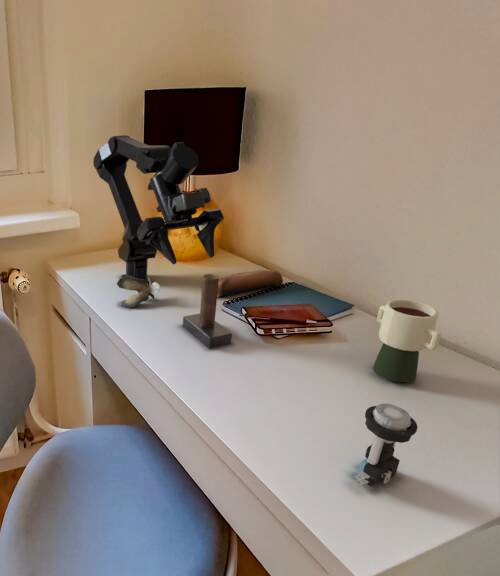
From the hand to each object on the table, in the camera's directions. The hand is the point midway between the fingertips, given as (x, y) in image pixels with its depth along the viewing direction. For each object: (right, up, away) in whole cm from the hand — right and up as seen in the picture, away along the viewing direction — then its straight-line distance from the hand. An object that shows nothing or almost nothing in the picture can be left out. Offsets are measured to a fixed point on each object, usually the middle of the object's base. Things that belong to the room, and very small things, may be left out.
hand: (193, 260), depth 96 cm
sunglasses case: (+17, -6, +20) cm, 27 cm away
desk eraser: (+2, -16, -2) cm, 16 cm away
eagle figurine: (-10, -9, +14) cm, 20 cm away
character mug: (+30, -21, -17) cm, 41 cm away
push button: (+14, -30, -37) cm, 50 cm away
